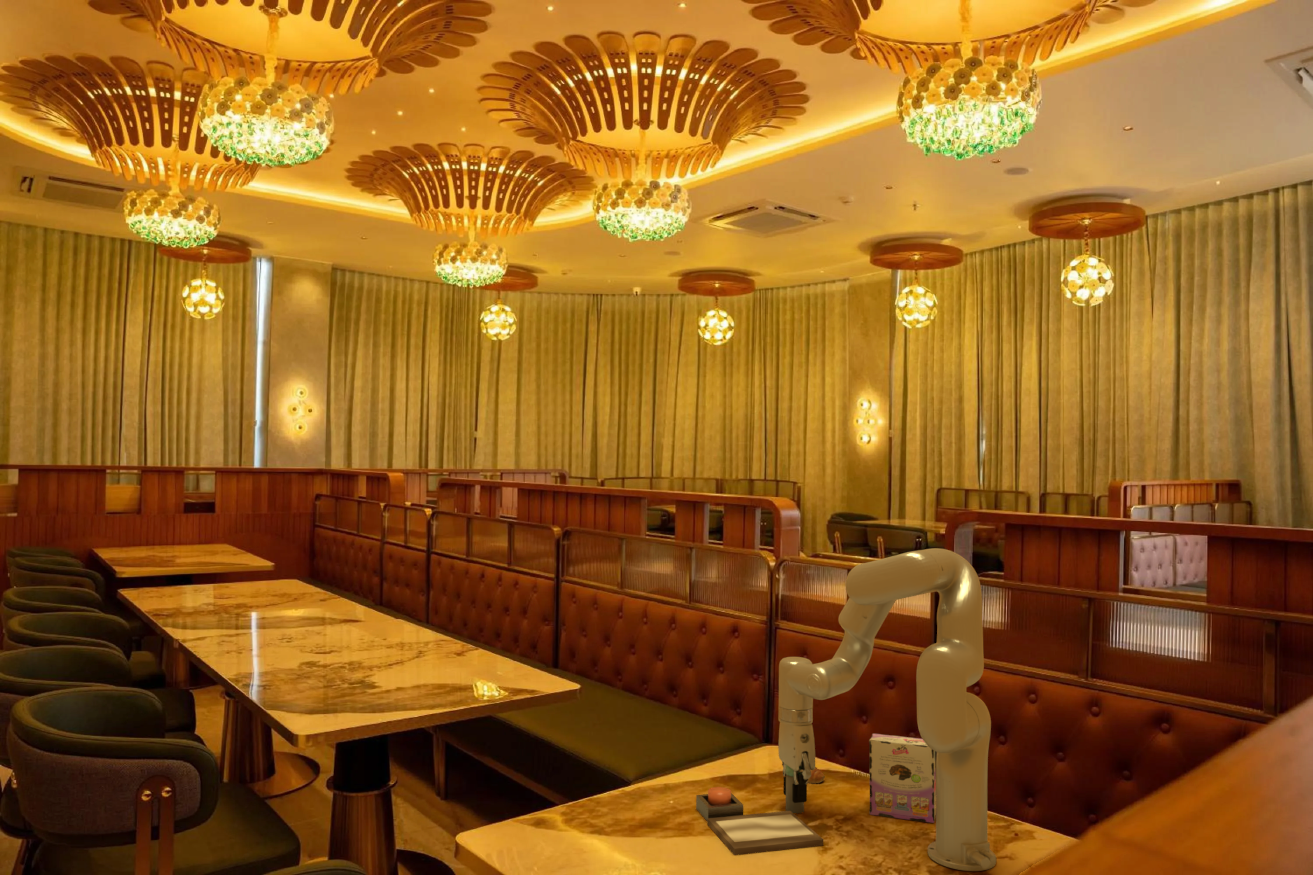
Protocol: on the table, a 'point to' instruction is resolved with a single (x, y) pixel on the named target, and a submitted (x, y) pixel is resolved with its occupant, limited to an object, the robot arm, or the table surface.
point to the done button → (719, 796)
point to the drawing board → (764, 832)
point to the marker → (789, 781)
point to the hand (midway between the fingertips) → (794, 797)
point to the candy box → (902, 778)
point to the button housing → (718, 807)
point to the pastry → (816, 776)
